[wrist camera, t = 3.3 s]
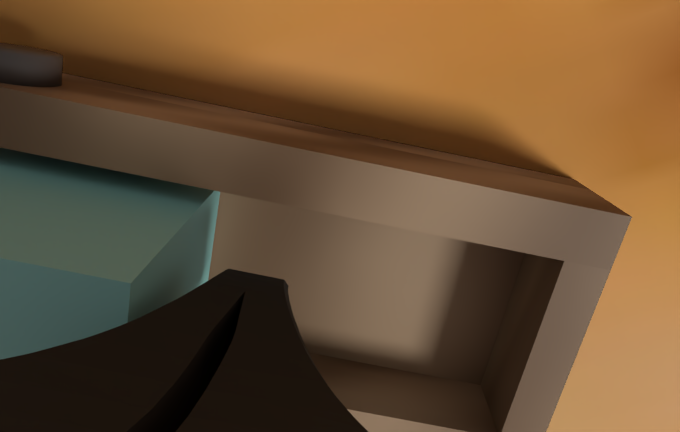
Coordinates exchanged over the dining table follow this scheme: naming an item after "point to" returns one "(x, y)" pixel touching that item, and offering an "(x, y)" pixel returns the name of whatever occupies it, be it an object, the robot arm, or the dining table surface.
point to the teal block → (93, 248)
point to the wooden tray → (361, 243)
